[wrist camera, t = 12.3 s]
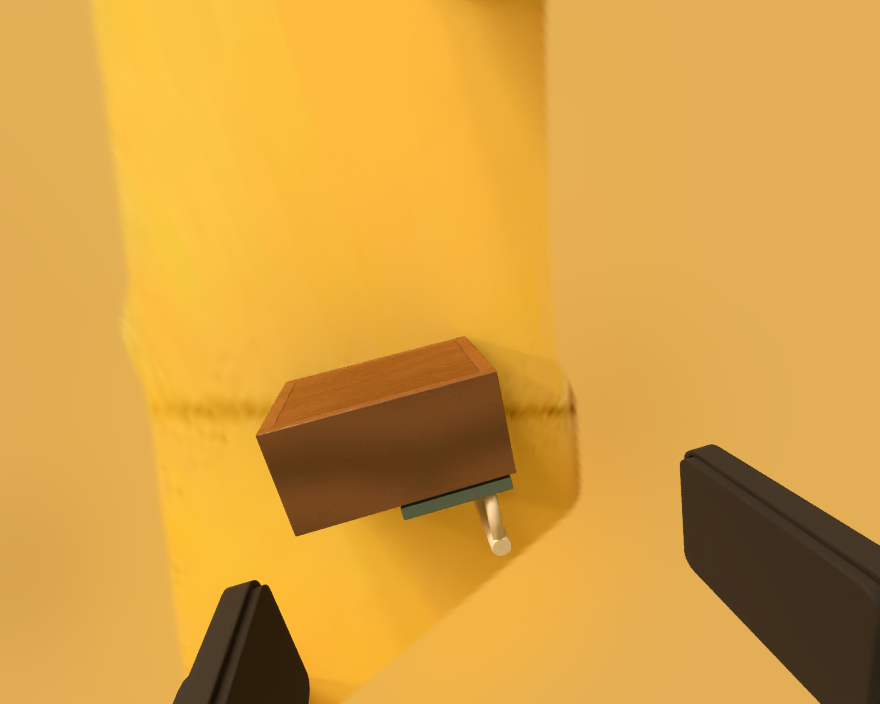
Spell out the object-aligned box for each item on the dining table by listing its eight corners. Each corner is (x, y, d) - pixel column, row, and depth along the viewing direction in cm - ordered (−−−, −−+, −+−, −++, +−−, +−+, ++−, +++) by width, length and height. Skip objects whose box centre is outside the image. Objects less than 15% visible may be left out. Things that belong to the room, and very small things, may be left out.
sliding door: (393, 444, 39) (400, 509, 30) (478, 420, 40) (511, 477, 30) (411, 504, 41) (422, 583, 32) (491, 481, 42) (525, 551, 32)
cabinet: (285, 382, 36) (255, 435, 27) (464, 336, 37) (496, 371, 28) (314, 461, 38) (295, 537, 29) (481, 415, 40) (516, 472, 30)
